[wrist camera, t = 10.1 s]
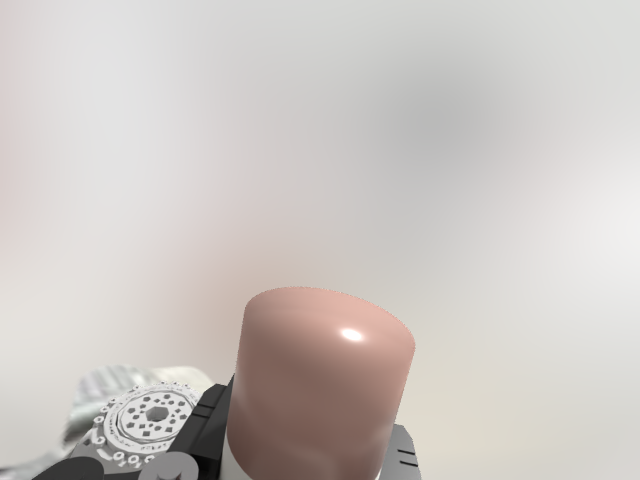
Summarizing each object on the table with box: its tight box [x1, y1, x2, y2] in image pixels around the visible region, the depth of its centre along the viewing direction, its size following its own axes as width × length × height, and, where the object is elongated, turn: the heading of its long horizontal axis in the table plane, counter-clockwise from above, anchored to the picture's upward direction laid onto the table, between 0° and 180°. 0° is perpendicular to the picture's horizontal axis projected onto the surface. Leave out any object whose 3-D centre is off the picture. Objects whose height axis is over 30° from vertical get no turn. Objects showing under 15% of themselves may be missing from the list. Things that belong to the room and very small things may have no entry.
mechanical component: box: [70, 380, 203, 474], centre depth 24 cm, size 10×4×10 cm
